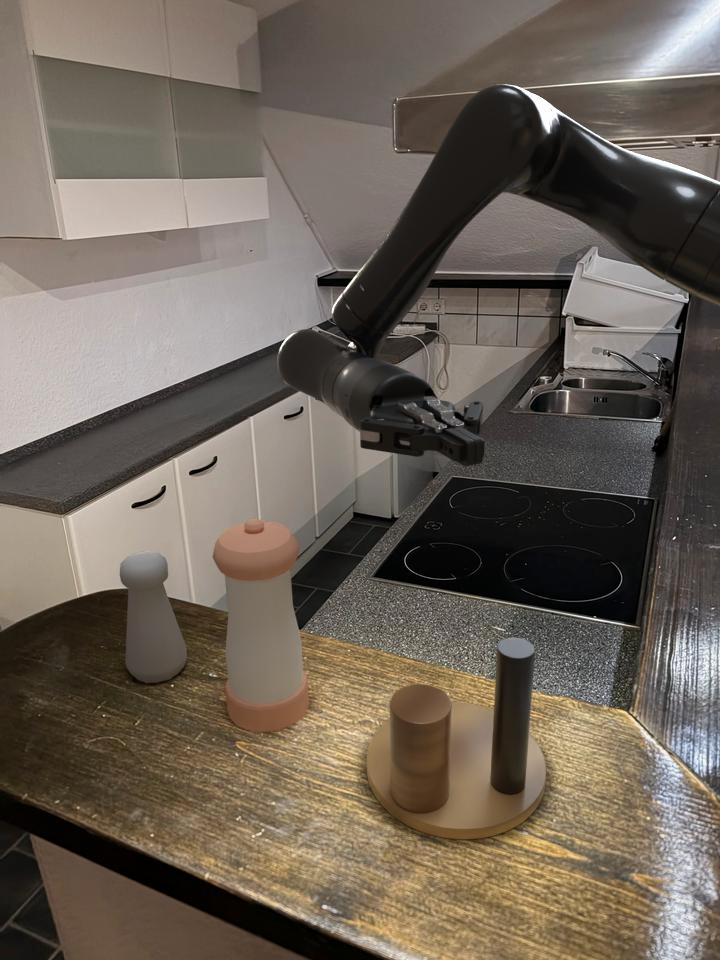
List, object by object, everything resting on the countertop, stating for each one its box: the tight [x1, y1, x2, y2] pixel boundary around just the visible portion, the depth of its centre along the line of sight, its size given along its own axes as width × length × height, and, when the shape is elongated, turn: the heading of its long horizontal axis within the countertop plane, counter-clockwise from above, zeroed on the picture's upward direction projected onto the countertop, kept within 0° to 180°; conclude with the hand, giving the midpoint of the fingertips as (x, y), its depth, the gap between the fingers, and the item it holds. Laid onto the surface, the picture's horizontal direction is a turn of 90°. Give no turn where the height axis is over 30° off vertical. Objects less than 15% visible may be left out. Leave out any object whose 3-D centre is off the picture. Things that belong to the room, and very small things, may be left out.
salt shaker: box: [119, 550, 188, 684], centre depth 72 cm, size 6×6×13 cm
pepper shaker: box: [212, 518, 310, 733], centre depth 65 cm, size 7×7×19 cm
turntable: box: [366, 636, 547, 840], centre depth 58 cm, size 14×14×13 cm
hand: (475, 453), depth 61 cm, fingers closed
